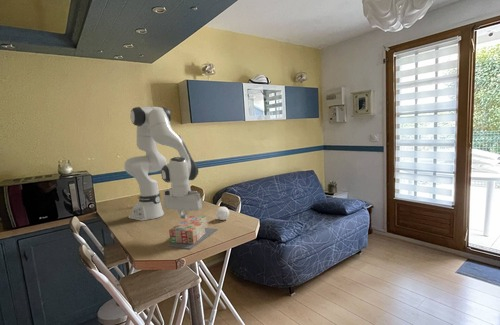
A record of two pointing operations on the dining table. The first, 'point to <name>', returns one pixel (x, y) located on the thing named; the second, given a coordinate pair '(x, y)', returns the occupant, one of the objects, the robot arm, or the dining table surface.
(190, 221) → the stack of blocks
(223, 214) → the geometric ball
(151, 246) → the dining table surface
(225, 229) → the dining table surface
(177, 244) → the mat
